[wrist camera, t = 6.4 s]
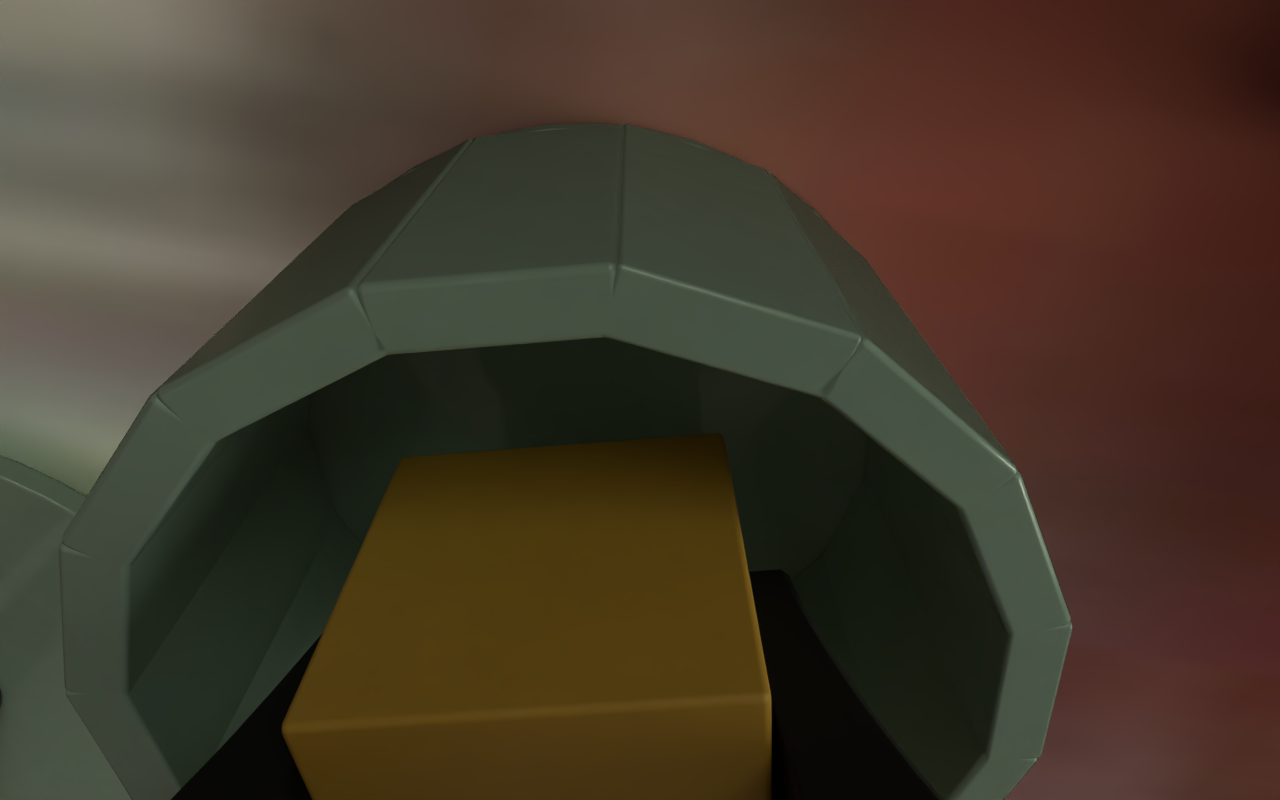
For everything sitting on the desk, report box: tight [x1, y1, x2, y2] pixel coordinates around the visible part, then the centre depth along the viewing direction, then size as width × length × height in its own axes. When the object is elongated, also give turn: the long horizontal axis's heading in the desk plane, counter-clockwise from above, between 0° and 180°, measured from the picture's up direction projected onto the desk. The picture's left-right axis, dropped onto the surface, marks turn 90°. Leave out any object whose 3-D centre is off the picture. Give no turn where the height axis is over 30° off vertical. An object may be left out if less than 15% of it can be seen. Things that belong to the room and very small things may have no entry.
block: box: [282, 433, 772, 800], centre depth 10 cm, size 4×4×4 cm
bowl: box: [59, 123, 1072, 800], centre depth 12 cm, size 11×11×6 cm
